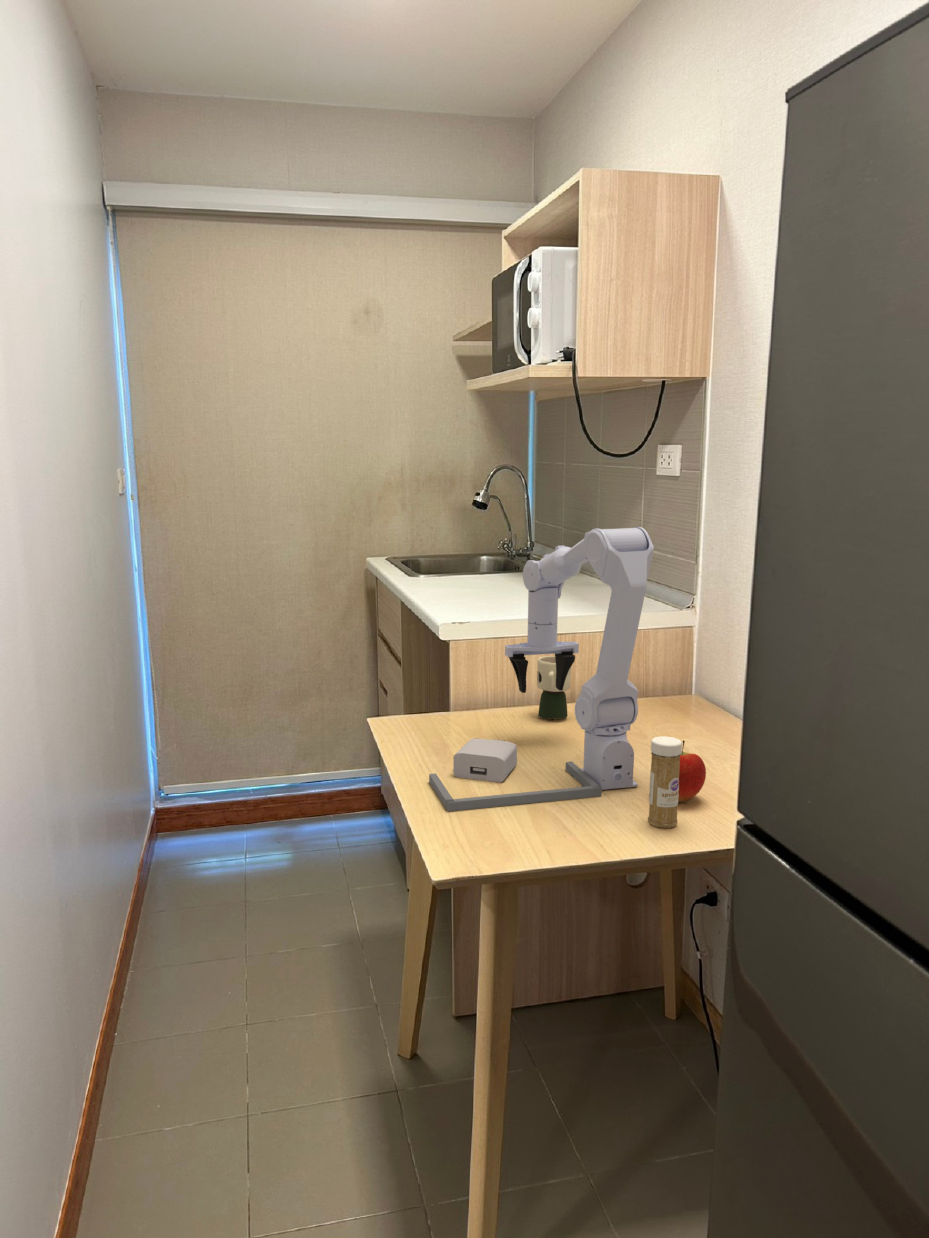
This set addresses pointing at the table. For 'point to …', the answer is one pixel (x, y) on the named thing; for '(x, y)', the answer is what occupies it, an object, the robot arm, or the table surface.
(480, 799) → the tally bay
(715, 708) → the table surface
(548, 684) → the character mug
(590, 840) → the table surface
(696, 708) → the table surface
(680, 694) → the table surface
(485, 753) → the charger
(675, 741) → the sprinkles bottle
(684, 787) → the apple
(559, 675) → the robot arm
